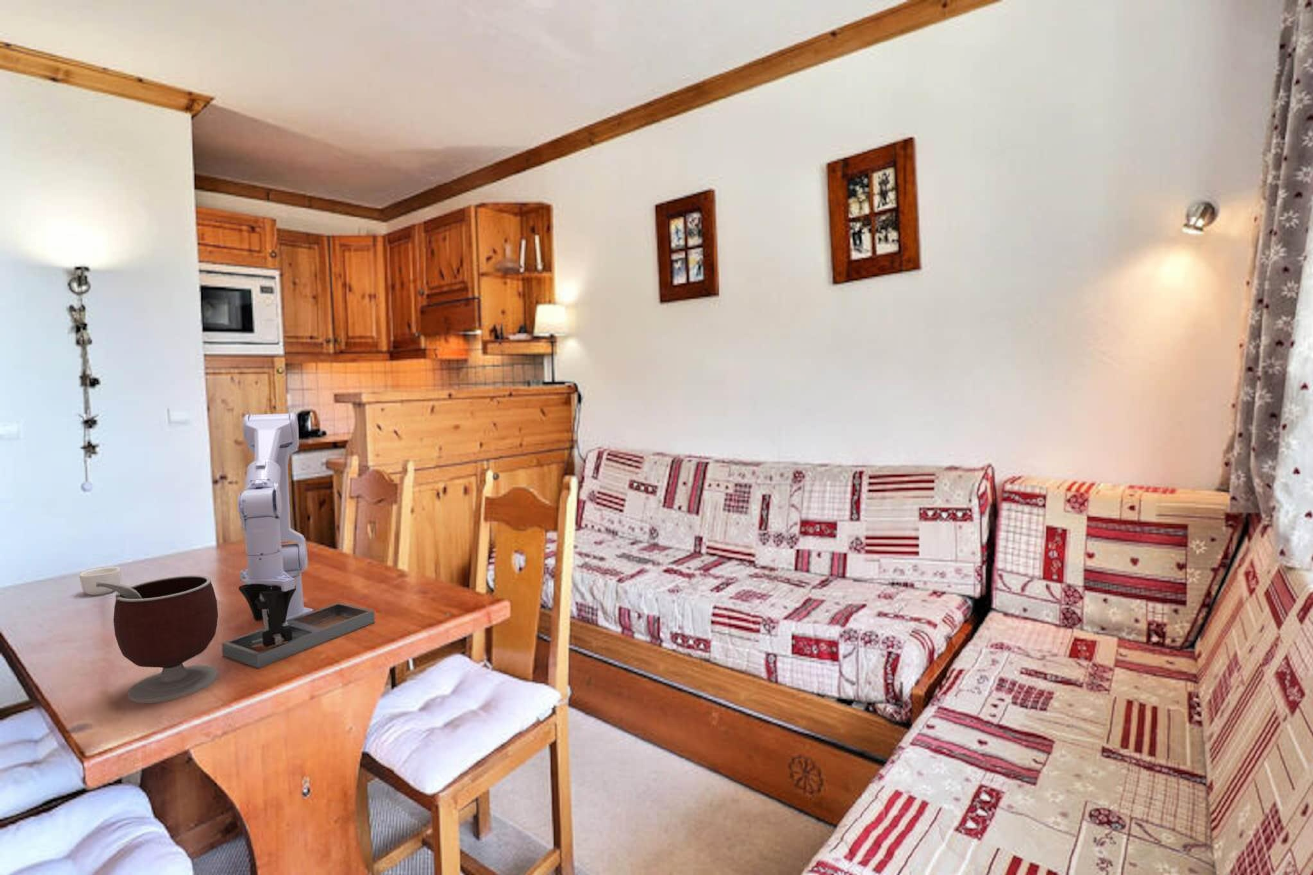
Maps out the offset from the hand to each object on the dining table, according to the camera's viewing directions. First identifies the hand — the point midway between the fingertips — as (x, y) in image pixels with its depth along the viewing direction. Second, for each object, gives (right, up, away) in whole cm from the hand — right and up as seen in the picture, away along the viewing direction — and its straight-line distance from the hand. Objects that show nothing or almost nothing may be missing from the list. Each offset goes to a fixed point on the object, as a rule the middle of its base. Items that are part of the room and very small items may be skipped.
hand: (270, 621), depth 123 cm
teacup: (-65, -4, +38) cm, 75 cm away
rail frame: (+3, -5, +6) cm, 8 cm away
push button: (0, -5, +1) cm, 5 cm away
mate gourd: (-9, -7, -14) cm, 18 cm away
